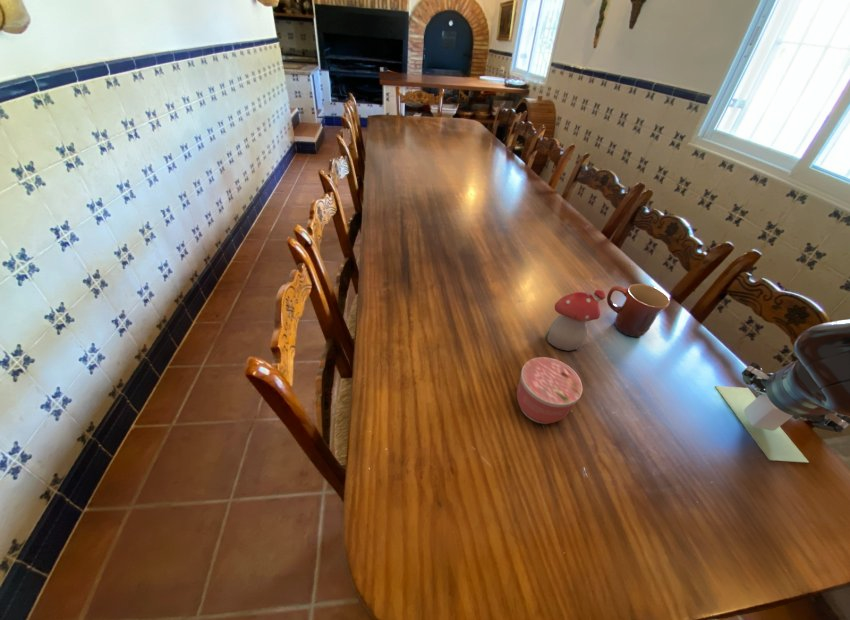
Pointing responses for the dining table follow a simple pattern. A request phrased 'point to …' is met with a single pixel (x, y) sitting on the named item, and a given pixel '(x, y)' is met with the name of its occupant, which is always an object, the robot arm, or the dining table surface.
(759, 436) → the edge strip
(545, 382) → the container
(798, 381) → the robot arm
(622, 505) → the dining table surface
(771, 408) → the salt shaker
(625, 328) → the mug
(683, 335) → the dining table surface
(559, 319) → the decorative ornament
